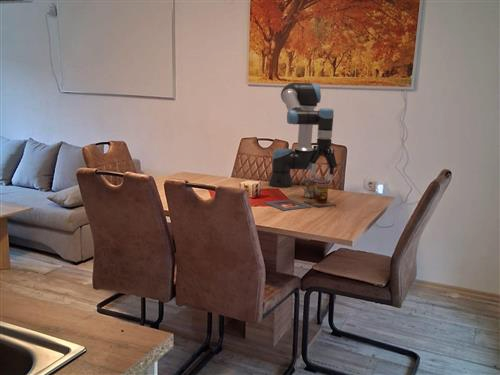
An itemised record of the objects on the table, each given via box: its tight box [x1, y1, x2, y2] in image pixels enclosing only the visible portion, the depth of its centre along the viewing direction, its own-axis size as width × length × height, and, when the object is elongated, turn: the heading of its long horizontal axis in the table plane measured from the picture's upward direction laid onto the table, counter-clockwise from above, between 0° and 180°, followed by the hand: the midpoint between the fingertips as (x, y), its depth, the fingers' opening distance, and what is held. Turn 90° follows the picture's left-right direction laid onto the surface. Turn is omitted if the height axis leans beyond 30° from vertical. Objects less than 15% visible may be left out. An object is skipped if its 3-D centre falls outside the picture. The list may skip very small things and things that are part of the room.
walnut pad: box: [303, 199, 337, 209], centre depth 253 cm, size 12×12×1 cm
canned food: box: [312, 178, 330, 204], centre depth 252 cm, size 8×8×12 cm
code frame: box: [263, 198, 312, 212], centre depth 248 cm, size 18×18×1 cm
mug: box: [299, 177, 319, 199], centre depth 270 cm, size 12×9×11 cm
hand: (321, 177), depth 251 cm, fingers open, 13 cm apart
